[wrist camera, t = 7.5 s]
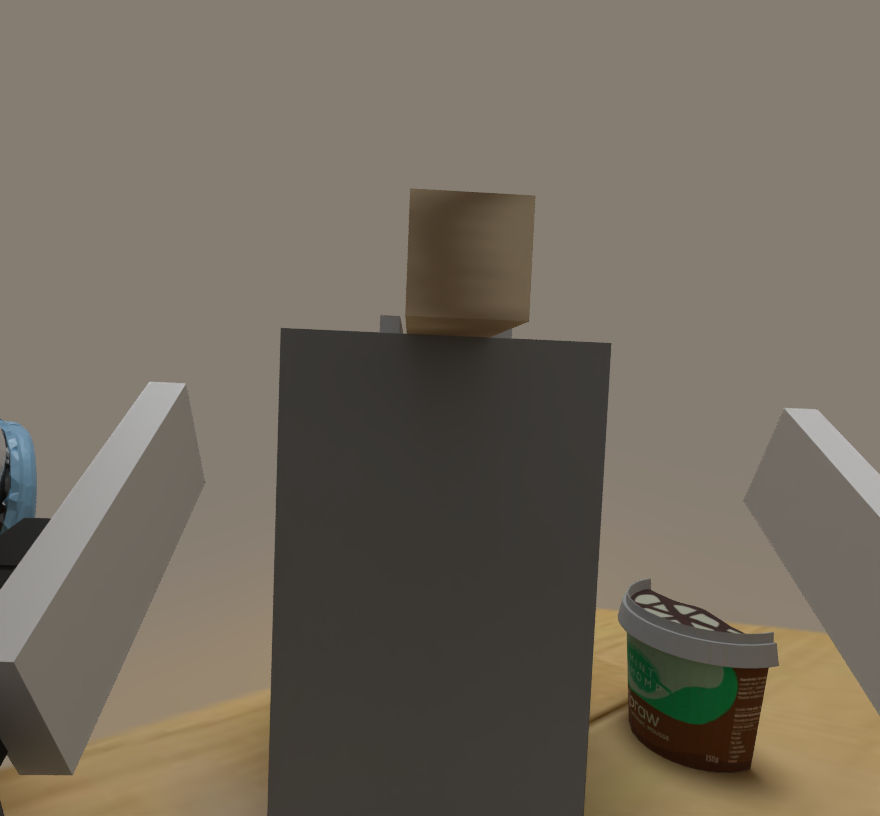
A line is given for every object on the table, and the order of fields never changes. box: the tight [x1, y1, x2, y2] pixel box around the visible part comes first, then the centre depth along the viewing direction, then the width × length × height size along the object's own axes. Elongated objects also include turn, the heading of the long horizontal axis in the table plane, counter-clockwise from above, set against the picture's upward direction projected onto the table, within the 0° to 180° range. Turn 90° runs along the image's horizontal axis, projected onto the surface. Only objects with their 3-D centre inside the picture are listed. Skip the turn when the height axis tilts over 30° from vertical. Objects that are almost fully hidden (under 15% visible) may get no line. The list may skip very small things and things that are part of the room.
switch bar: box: [405, 189, 535, 338], centre depth 33 cm, size 4×26×4 cm, turn 3°
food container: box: [618, 578, 779, 772], centre depth 45 cm, size 12×6×10 cm, turn 25°
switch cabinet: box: [267, 315, 611, 816], centre depth 40 cm, size 16×19×29 cm
